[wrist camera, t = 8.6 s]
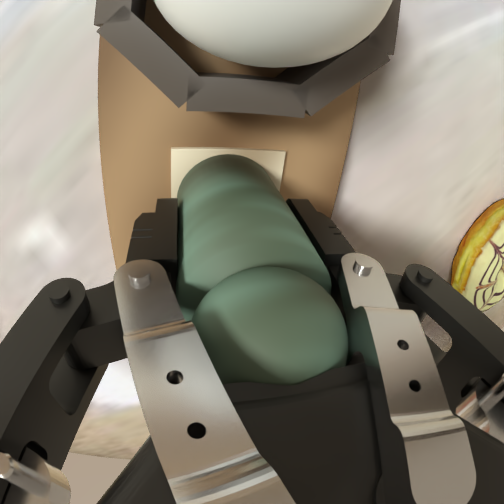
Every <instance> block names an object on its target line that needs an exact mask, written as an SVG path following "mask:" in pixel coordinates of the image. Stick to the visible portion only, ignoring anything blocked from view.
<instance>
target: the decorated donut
mask: <svg viewBox="0 0 504 504" xmlns="http://www.w3.org/2000/svg"><path fill="white" fill-rule="evenodd" d="M451 285H452V287H453V288H454V289H456V290H457V291H458V292H459V293H460V294H462V295H463V296H464V297H465V298H466V299H467V300H469V301H470V302H471V303H472V304H473V305H474V306H475V307H477V308H478V309H479V310H480V311H481V312H484V311H486V310H488V309H490V308H491V307H492V306H494V305H495V304H496V303H498V302H499V301H500V300H502V299H503V298H504V199H503V200H500V201H497V202H495V203H494V204H493V205H491V206H490V207H488V208H487V210H486V211H485V212H484V213H483V214H481V216H480V217H479V218H478V219H477V220H476V221H475V223H474V224H473V225H472V226H471V227H470V229H469V231H468V232H467V234H466V235H465V236H464V238H463V239H462V241H461V243H460V245H459V248H458V252H457V254H456V256H455V257H454V260H453V266H452V279H451Z"/></svg>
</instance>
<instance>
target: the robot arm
mask: <svg viewBox="0 0 504 504" xmlns="http://www.w3.org/2000/svg"><path fill="white" fill-rule="evenodd" d="M286 203H287V205H288V206H289V208H290V209H291V211H292V212H293V214H294V216H295V217H296V219H297V220H298V222H299V224H300V225H301V227H302V229H303V230H304V232H305V233H306V235H307V237H308V238H309V240H310V242H311V243H312V245H313V246H314V248H315V250H316V251H317V253H318V255H319V256H320V258H321V260H322V261H323V263H324V265H325V267H326V268H327V270H328V272H329V275H330V278H331V285H332V286H331V297H332V298H333V299H334V301H335V303H336V304H337V306H338V307H339V309H340V311H341V313H342V316H343V318H344V321H345V325H346V329H347V335H348V355H347V360H346V365H345V367H340V368H335V369H331V370H329V371H327V372H325V373H323V374H321V375H318V376H316V377H314V378H312V379H310V380H307V381H305V382H303V383H300V384H298V385H292V386H290V385H277V384H265V383H255V382H240V383H229V384H222V383H221V381H220V379H219V377H218V375H217V373H216V371H215V369H214V366H213V364H212V362H211V360H210V358H209V356H208V354H207V352H206V350H205V348H204V345H203V343H202V341H201V339H200V337H199V334H198V332H197V330H196V328H195V326H194V324H193V323H192V322H191V321H190V320H189V321H185V319H184V316H183V314H182V312H181V309H180V307H179V304H178V302H177V299H176V281H177V277H178V257H177V236H178V198H158V199H157V203H156V210H155V212H149V213H142V214H141V215H140V216H139V217H138V218H137V219H136V220H135V222H134V226H133V231H132V235H131V239H130V244H129V248H128V253H127V258H126V263H125V264H124V265H122V266H121V267H120V268H119V269H118V270H117V271H116V272H115V274H114V281H112V282H110V283H108V284H106V285H103V286H100V287H96V288H93V289H89V290H85V288H84V286H83V284H82V283H81V282H80V281H78V280H76V279H73V278H61V279H57V280H54V281H52V282H50V283H49V284H47V285H46V286H45V287H44V288H43V289H42V290H41V291H40V292H39V293H38V295H37V296H36V297H35V298H34V300H33V301H32V302H31V303H30V305H29V306H28V307H27V308H26V310H25V311H24V312H23V314H22V315H21V316H20V318H19V319H18V320H17V322H16V323H15V324H14V326H13V327H12V328H11V330H10V331H9V333H8V334H7V335H6V337H5V338H4V340H3V341H2V342H1V344H0V504H70V497H71V490H70V485H69V483H68V480H67V478H66V477H65V475H64V474H63V473H62V472H61V469H62V467H63V464H64V462H65V459H66V457H67V454H68V452H69V449H70V447H71V445H72V442H73V440H74V438H75V435H76V433H77V431H78V429H79V426H80V424H81V422H82V420H83V417H84V415H85V413H86V411H87V409H88V406H89V404H90V402H91V400H92V398H93V396H94V394H95V392H96V389H97V387H98V385H99V383H100V381H101V379H102V377H103V375H104V373H105V371H106V369H107V367H108V364H109V363H112V362H115V361H118V360H122V359H125V358H128V361H129V365H130V368H131V372H132V376H133V380H134V383H135V387H136V391H137V394H138V398H139V401H140V404H141V407H142V411H143V414H144V417H145V420H146V423H147V426H148V429H149V432H150V436H149V437H148V439H147V440H146V441H145V443H144V444H143V445H142V447H141V448H140V449H139V451H138V452H137V453H136V454H135V456H134V457H133V458H132V460H131V461H130V462H129V463H128V465H127V466H126V467H125V469H124V470H123V471H122V472H121V474H120V475H119V476H118V478H117V479H116V480H115V481H114V483H113V484H112V485H111V486H110V488H109V489H108V490H107V491H106V493H105V494H104V495H103V496H102V498H101V499H100V500H99V501H98V503H97V504H504V332H503V331H502V330H501V329H500V328H499V327H498V326H497V325H496V324H494V323H493V322H492V321H491V320H490V319H489V318H488V317H487V316H486V315H485V314H483V313H482V312H481V311H480V310H479V309H478V308H477V307H475V306H474V305H473V304H472V303H471V302H470V301H469V300H467V299H466V298H465V297H464V296H463V295H462V294H460V293H459V292H458V291H457V290H456V289H454V288H453V287H452V286H451V285H450V284H448V283H447V282H446V281H445V280H443V279H442V278H441V277H440V276H439V275H437V274H436V273H435V272H433V271H432V270H431V269H429V268H427V267H425V266H422V265H418V264H411V265H409V266H407V268H406V270H405V272H404V274H403V276H399V275H394V274H388V273H385V272H384V270H383V268H382V266H381V265H380V263H379V262H378V261H376V260H375V259H373V258H372V257H370V256H367V255H365V254H361V253H356V252H355V251H354V249H353V248H352V247H351V245H350V244H349V243H348V241H347V240H346V239H345V237H344V236H343V235H341V232H340V231H339V229H338V228H336V225H335V224H334V223H333V221H332V220H331V219H330V218H329V217H327V216H326V215H324V214H323V213H321V212H317V211H316V209H315V208H314V207H313V205H312V204H311V203H310V201H309V200H308V199H293V198H288V199H287V200H286ZM426 314H428V315H429V316H430V317H431V318H432V319H433V320H434V321H436V322H437V323H438V324H439V325H440V326H441V327H442V328H443V329H444V330H445V331H446V332H448V333H449V335H450V336H451V338H452V347H451V349H450V350H449V351H448V352H444V351H442V350H441V349H440V348H439V347H438V346H437V345H436V344H435V343H434V342H433V341H432V340H431V339H430V338H429V337H427V336H426V335H425V334H424V331H423V329H422V326H421V322H422V321H423V319H424V317H425V316H426Z"/></svg>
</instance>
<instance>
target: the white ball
mask: <svg viewBox="0 0 504 504" xmlns="http://www.w3.org/2000/svg"><path fill="white" fill-rule="evenodd" d="M154 1H155V4H156V6H157V8H158V9H159V11H160V12H161V14H162V15H163V17H164V18H165V19H166V21H167V22H168V23H169V24H170V25H171V26H172V27H173V28H174V29H175V30H176V31H177V32H178V33H179V34H181V35H182V36H183V37H184V38H185V39H186V40H188V41H190V42H191V43H193V44H194V45H196V46H197V47H199V48H200V49H202V50H204V51H206V52H208V53H210V54H212V55H215V56H217V57H220V58H223V59H225V60H228V61H232V62H236V63H240V64H243V65H250V66H256V67H270V68H280V67H296V66H303V65H309V64H313V63H317V62H320V61H324V60H326V59H329V58H331V57H334V56H336V55H339V54H341V53H343V52H345V51H347V50H349V49H351V48H352V47H354V46H355V45H357V44H358V43H359V42H361V41H362V40H363V39H365V38H366V37H367V36H368V35H369V34H370V33H371V32H372V31H373V30H374V29H375V28H376V27H377V26H378V25H379V23H380V22H381V21H382V19H383V18H384V16H385V15H386V13H387V11H388V9H389V7H390V5H391V3H392V0H154Z"/></svg>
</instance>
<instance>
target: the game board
mask: <svg viewBox="0 0 504 504" xmlns="http://www.w3.org/2000/svg"><path fill="white" fill-rule="evenodd" d="M400 3H401V0H392V3H391V5H390V7H389V9H388V11H387V13H386V15H385V16H384V18H383V19H382V21H381V22H380V23H379V25H378V26H377V27H376V28H375V29H374V30H373V31H372V32H371V33H370V34H369V35H368V36H367V37H366V38H365V39H363V40H362V41H361V42H359V43H358V44H357V45H355V46H354V47H352V48H351V49H349V50H347V51H345V52H343V53H341V54H339V55H336V56H334V57H331V58H329V59H326V60H324V61H320V62H317V63H313V64H309V65H303V66H296V67H280V68H270V67H256V66H250V65H243V64H240V63H236V62H232V61H228V60H225V59H223V58H220V57H217V56H215V55H212V54H210V53H208V52H206V51H204V50H202V49H200V48H199V47H197V46H196V45H194V44H193V43H191V42H190V41H188V40H186V39H185V38H184V37H183V36H182V35H181V34H179V33H178V32H177V31H176V30H175V29H174V28H173V27H172V26H171V25H170V24H169V23H168V22H167V21H166V19H165V18H164V17H163V15H162V14H161V12H160V11H159V9H158V8H157V6H156V4H155V1H154V0H96V9H95V19H94V25H96V26H99V27H100V28H99V29H98V30H97V32H98V33H99V34H100V41H99V62H98V117H99V139H100V154H101V166H102V176H103V186H104V195H105V203H106V210H107V217H108V224H109V231H110V237H111V243H112V249H113V254H114V260H115V265H116V270H118V269H119V268H120V267H121V266H122V265H124V264H125V263H126V258H127V253H128V248H129V244H130V239H131V235H132V231H133V226H134V222H135V220H136V219H137V218H138V217H139V216H140V215H141V214H142V213H149V212H155V210H156V203H157V199H158V198H177V193H178V189H179V186H180V184H181V182H182V180H183V178H184V177H185V175H186V174H187V173H188V172H189V170H190V169H192V168H193V167H194V166H195V165H196V164H198V163H199V162H201V161H203V160H205V159H207V158H210V157H212V156H216V155H222V154H235V155H241V156H244V157H247V158H249V159H251V160H253V161H255V162H256V163H258V164H259V165H260V166H261V167H263V169H264V170H265V171H266V172H267V174H268V175H269V177H270V178H271V180H272V181H273V183H274V184H275V186H276V187H277V189H278V190H279V192H280V194H281V195H282V197H283V198H284V200H285V201H286V200H287V199H288V198H293V199H308V200H309V201H310V203H311V204H312V205H313V207H314V208H315V209H316V211H317V212H321V213H323V214H324V215H326V216H327V217H329V218H330V219H331V215H332V211H333V207H334V203H335V199H336V195H337V191H338V187H339V183H340V178H341V174H342V170H343V166H344V161H345V157H346V152H347V148H348V143H349V138H350V134H351V129H352V124H353V119H354V114H355V109H356V104H357V99H358V93H359V88H360V82H361V80H362V79H364V78H365V77H366V76H368V75H369V74H371V73H372V72H374V71H375V70H377V69H378V68H380V67H381V66H383V65H384V64H386V63H387V62H389V61H390V59H389V57H388V55H394V48H395V42H396V35H397V27H398V20H399V12H400Z"/></svg>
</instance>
